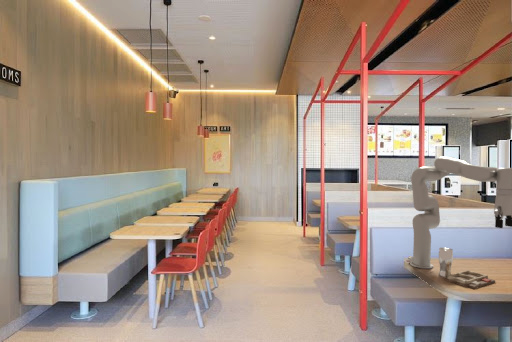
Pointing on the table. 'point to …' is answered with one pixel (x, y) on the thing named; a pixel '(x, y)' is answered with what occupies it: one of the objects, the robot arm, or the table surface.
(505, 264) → the table surface
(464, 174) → the robot arm
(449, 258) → the silver piece
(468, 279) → the divided sorting tray
